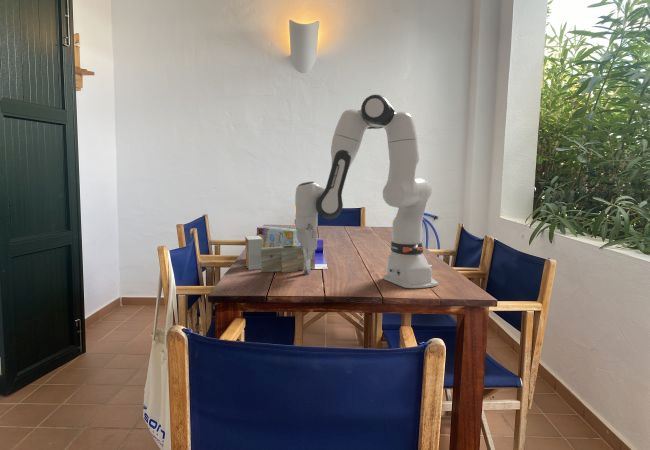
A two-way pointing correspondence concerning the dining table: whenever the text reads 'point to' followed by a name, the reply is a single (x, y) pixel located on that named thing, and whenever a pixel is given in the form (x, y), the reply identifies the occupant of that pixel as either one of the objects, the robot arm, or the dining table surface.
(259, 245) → the small box
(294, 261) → the hinge
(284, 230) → the snack box
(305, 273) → the hinge pin
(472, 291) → the dining table surface
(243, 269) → the dining table surface
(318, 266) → the dining table surface
